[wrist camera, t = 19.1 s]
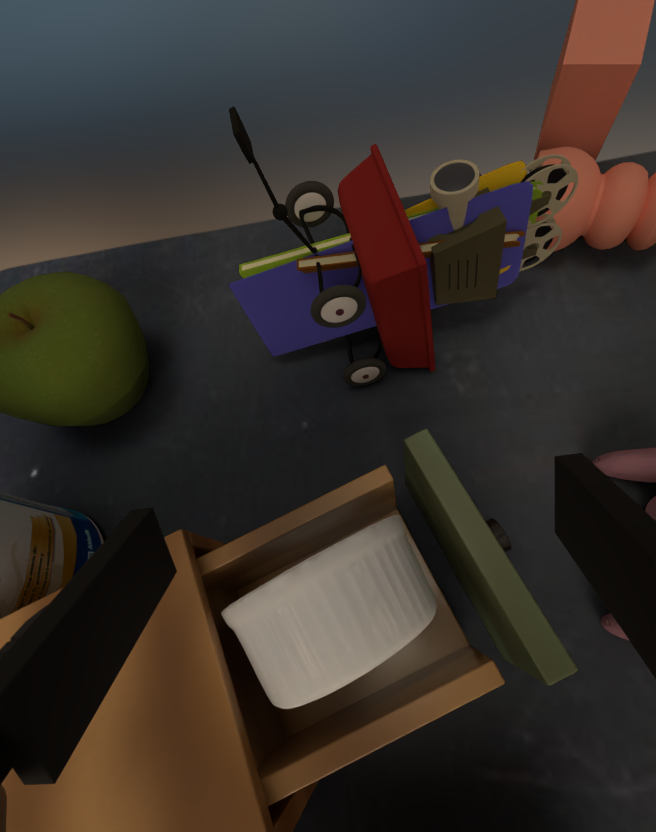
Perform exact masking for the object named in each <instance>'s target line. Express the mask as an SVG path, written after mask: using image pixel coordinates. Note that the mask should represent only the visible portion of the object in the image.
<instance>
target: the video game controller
mask: <svg viewBox="0 0 656 832" xmlns="http://www.w3.org/2000/svg"><path fill="white" fill-rule="evenodd" d="M592 463H593V464H594V465H595V466H596V467H597V468H599V469H600V470H601V471H602V472H603V473H604V474H605V475H606V476H610V477H614V478H619V479H624V480H633V481H641V482H656V447H655V448H642V449H631V450H621V451H614V452H609V453H606V454H603V455H600V456H599V457H597V458H595V459H594V460H593V461H592ZM645 512H647V513H648V514H649V515H650V516H651V517H652V518H653V519H654V520H655V521H656V496H655V497H654V498H652V499H651V500H650V501H649V502H648V504H647V506H646V509H645ZM600 623H601V625H602V626H603V628H605V629H606V630H607V631H609V632H610V633H612V634H614V635H616V636H618V637H620V638H623V639H626V640H629V639H628V638H627V636H626V635H625V633H624V632H623V630H622V629H621V627H620V626H619V625H618V623H617V622H616V620H615V619H614V617H613V616H612V614H611V613H610V614H607V615H604V616H603V617H602V618H601V619H600Z"/></svg>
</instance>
